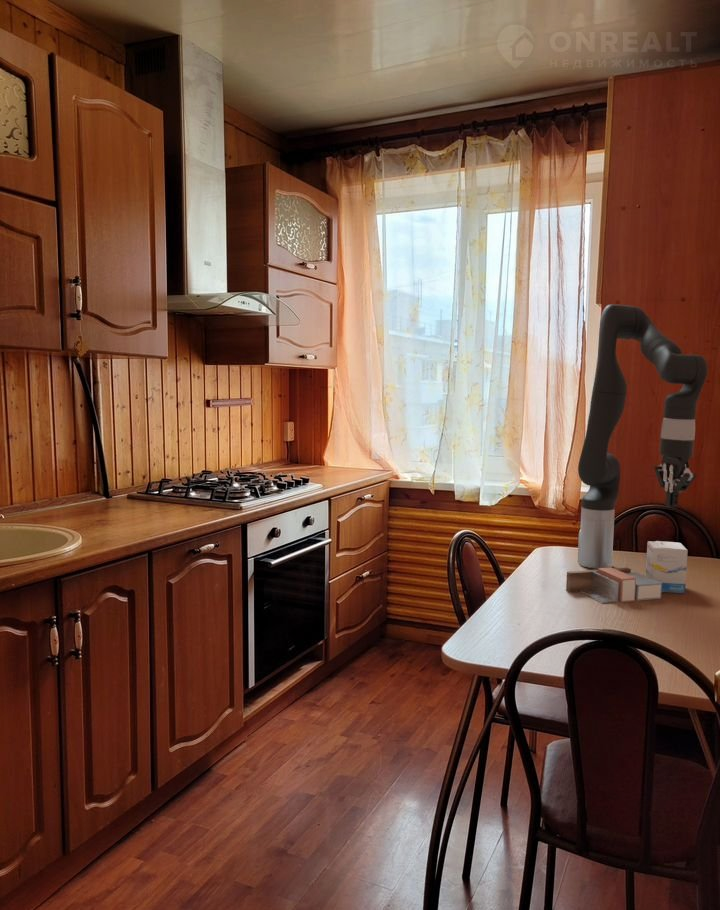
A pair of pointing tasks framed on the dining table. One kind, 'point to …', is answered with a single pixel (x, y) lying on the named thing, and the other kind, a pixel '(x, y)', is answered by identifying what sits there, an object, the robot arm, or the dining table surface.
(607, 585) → the bookend
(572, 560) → the dining table surface
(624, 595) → the boxed book
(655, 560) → the ink box
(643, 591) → the flat book
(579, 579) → the shelf wall
